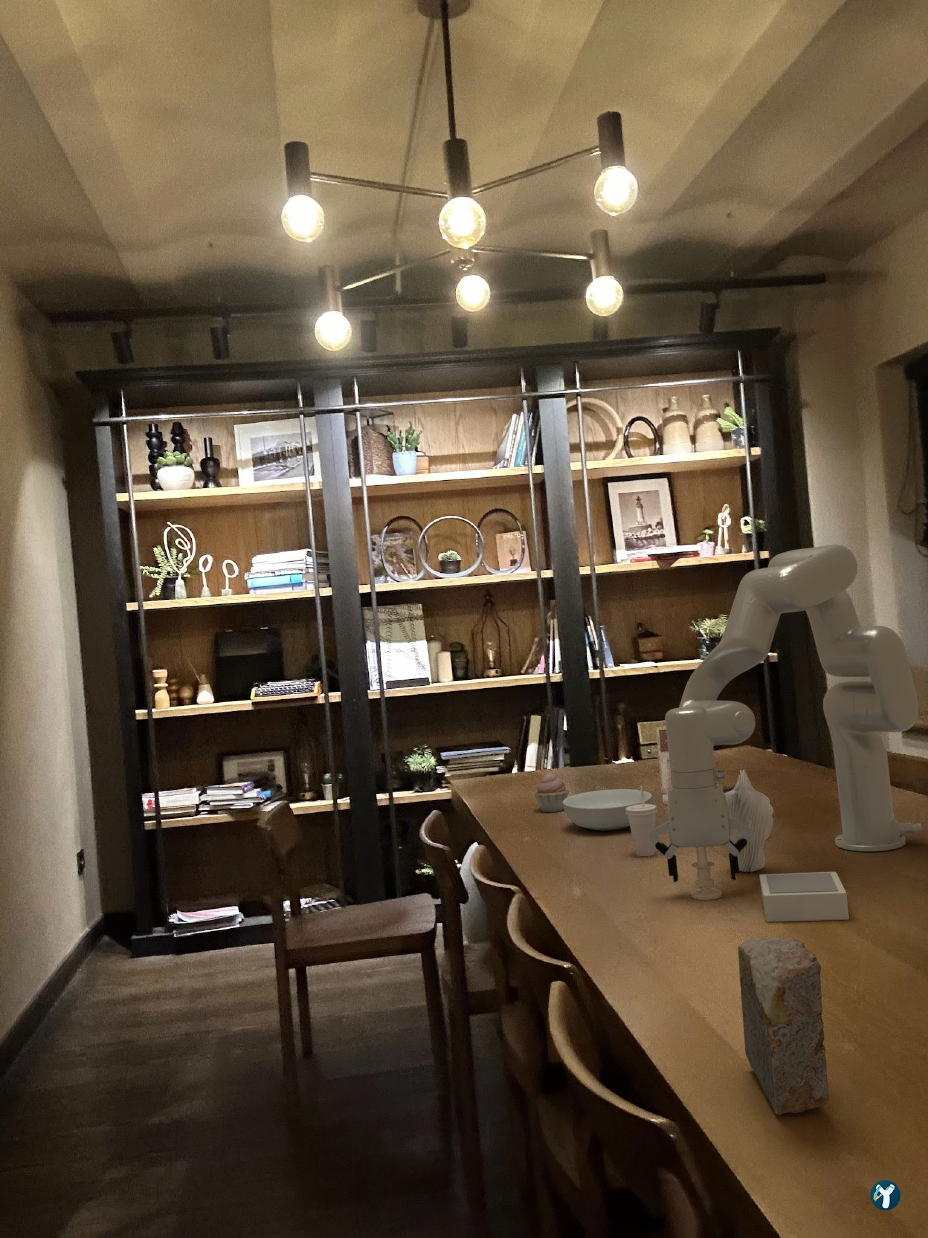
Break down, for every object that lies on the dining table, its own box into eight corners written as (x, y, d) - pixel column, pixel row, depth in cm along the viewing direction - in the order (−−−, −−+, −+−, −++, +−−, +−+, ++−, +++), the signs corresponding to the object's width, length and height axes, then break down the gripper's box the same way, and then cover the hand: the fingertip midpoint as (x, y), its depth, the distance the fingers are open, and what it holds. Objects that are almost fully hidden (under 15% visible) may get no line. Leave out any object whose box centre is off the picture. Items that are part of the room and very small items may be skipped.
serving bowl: (554, 838, 221) (551, 808, 221) (579, 818, 240) (576, 790, 240) (644, 836, 213) (641, 805, 213) (662, 816, 232) (659, 787, 232)
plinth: (838, 896, 157) (835, 870, 157) (849, 919, 145) (846, 892, 145) (761, 898, 160) (759, 873, 160) (766, 921, 148) (763, 895, 148)
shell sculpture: (750, 878, 172) (739, 778, 172) (718, 870, 179) (707, 774, 180) (783, 869, 176) (773, 771, 176) (751, 861, 183) (740, 767, 183)
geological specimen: (744, 1069, 102) (729, 928, 103) (802, 1063, 102) (787, 922, 102) (773, 1120, 92) (756, 963, 92) (838, 1115, 92) (821, 957, 92)
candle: (716, 901, 161) (709, 839, 161) (686, 899, 164) (680, 838, 164) (725, 892, 166) (719, 831, 166) (696, 890, 169) (690, 831, 169)
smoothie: (661, 857, 193) (654, 788, 193) (629, 859, 194) (622, 790, 195) (661, 849, 199) (654, 782, 200) (630, 851, 201) (623, 784, 201)
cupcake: (577, 806, 254) (573, 769, 255) (561, 814, 247) (557, 775, 247) (546, 806, 259) (542, 769, 260) (529, 814, 252) (525, 775, 252)
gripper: (745, 772, 167) (755, 871, 167) (644, 778, 171) (654, 875, 171) (747, 780, 159) (758, 883, 159) (641, 786, 164) (652, 887, 163)
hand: (704, 879), depth 165 cm, fingers open, 9 cm apart
